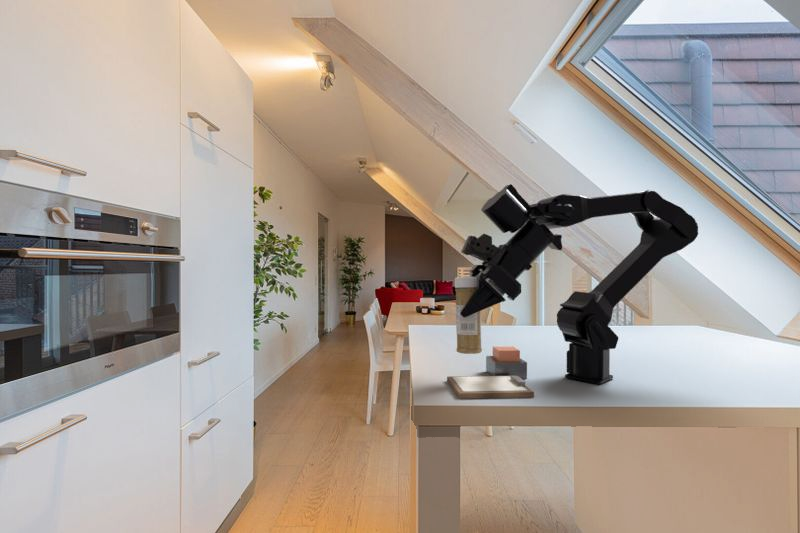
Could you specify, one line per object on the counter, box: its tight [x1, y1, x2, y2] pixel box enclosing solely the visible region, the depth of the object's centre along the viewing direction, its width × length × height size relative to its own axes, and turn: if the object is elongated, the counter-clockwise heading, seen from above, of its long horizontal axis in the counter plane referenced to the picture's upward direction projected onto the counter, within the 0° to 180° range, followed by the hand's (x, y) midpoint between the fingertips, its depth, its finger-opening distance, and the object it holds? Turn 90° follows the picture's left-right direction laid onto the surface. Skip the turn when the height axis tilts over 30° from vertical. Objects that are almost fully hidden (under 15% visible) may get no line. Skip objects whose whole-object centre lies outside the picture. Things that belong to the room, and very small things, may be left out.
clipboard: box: [446, 375, 535, 400], centre depth 76 cm, size 12×10×2 cm
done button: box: [492, 345, 521, 362], centre depth 85 cm, size 4×4×3 cm
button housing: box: [485, 355, 528, 380], centre depth 85 cm, size 6×6×3 cm
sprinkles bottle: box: [454, 276, 483, 355], centre depth 80 cm, size 5×5×14 cm
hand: (460, 314), depth 80 cm, fingers closed on sprinkles bottle, 4 cm apart
